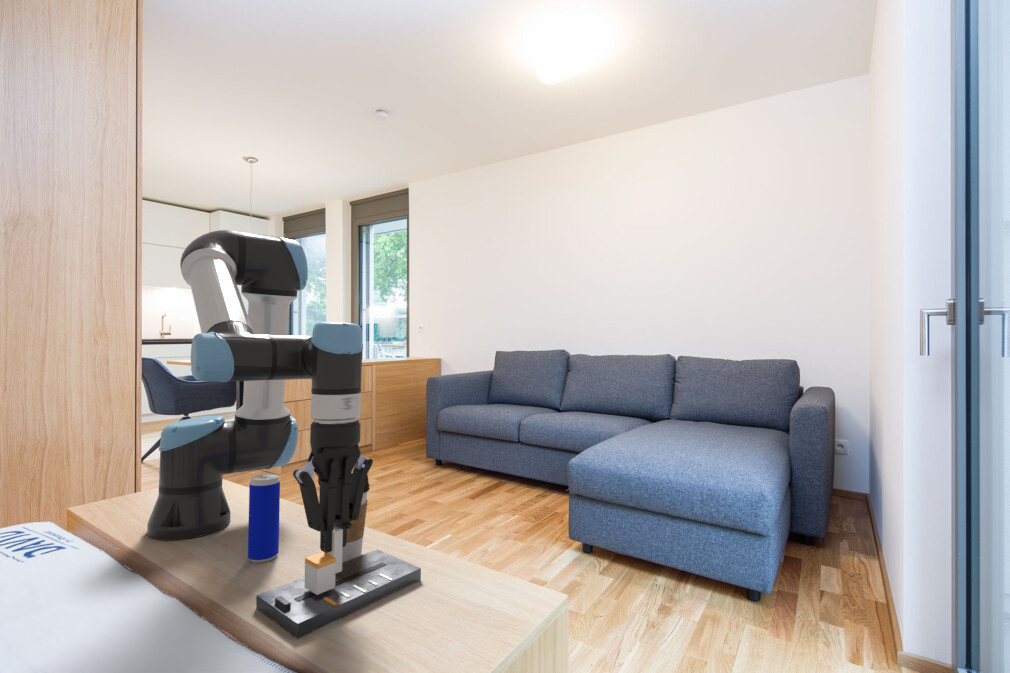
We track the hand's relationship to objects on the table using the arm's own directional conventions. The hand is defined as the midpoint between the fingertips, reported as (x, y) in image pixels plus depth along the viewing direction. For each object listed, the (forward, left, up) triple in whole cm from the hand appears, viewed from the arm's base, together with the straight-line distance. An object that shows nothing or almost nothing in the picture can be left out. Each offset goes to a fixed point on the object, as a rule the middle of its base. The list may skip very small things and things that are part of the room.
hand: (332, 569), depth 77 cm
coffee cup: (-12, +10, -5) cm, 16 cm away
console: (0, +2, -4) cm, 5 cm away
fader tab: (0, -2, -2) cm, 3 cm away
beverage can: (-23, 0, -5) cm, 23 cm away
